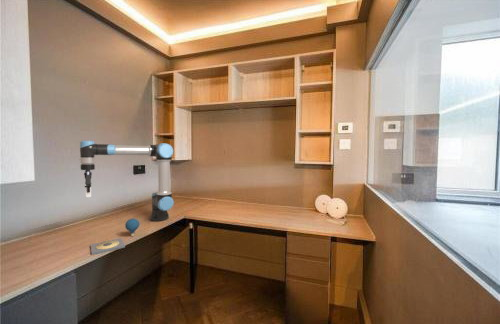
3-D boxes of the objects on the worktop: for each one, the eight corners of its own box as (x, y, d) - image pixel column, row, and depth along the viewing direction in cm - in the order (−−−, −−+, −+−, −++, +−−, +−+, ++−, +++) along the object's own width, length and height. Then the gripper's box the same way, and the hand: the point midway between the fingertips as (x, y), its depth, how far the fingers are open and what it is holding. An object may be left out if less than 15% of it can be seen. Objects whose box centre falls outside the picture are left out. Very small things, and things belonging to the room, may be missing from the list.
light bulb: (141, 235, 146) (141, 218, 145) (128, 239, 140) (127, 221, 139) (136, 232, 151) (136, 216, 151) (123, 236, 145) (123, 218, 145)
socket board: (121, 239, 140) (121, 237, 140) (124, 247, 128) (124, 244, 128) (90, 245, 130) (90, 243, 130) (91, 255, 118) (91, 252, 118)
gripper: (80, 163, 150) (81, 193, 150) (80, 164, 130) (81, 199, 131) (93, 163, 154) (94, 192, 155) (95, 164, 135) (96, 197, 136)
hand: (88, 195), depth 143 cm, fingers open, 13 cm apart
